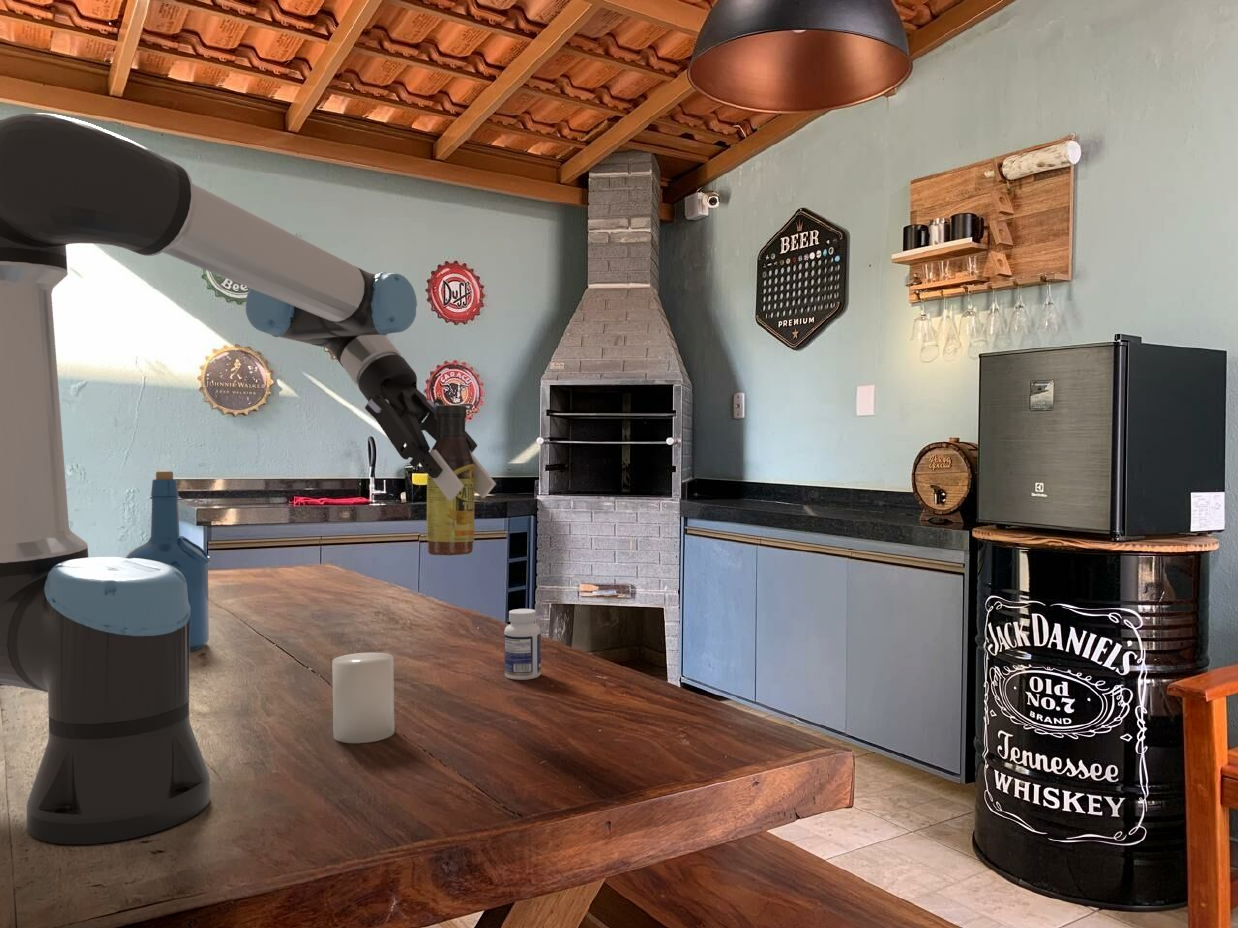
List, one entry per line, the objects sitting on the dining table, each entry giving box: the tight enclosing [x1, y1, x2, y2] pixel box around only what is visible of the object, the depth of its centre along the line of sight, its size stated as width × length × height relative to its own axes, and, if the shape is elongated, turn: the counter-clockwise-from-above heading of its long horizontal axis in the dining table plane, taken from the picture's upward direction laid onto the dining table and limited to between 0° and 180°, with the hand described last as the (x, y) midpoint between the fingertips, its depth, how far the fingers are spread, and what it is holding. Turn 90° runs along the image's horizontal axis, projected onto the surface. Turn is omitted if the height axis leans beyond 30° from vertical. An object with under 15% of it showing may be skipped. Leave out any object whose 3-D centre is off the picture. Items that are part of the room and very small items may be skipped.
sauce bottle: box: [426, 404, 476, 557], centre depth 124 cm, size 6×6×20 cm
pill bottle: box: [503, 608, 542, 681], centre depth 139 cm, size 5×5×10 cm
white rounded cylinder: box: [331, 651, 395, 744], centre depth 111 cm, size 7×7×9 cm
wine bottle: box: [125, 470, 212, 652], centre depth 157 cm, size 14×13×30 cm
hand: (472, 491), depth 123 cm, fingers closed on sauce bottle, 6 cm apart
